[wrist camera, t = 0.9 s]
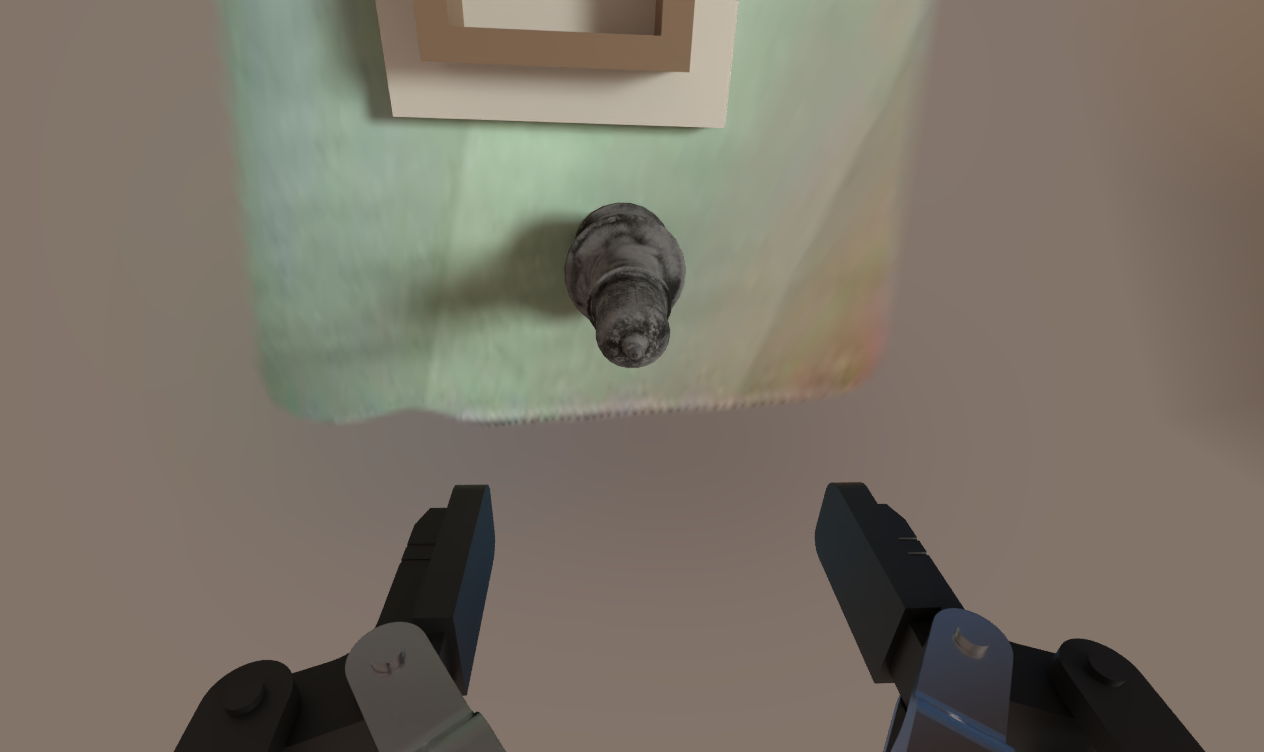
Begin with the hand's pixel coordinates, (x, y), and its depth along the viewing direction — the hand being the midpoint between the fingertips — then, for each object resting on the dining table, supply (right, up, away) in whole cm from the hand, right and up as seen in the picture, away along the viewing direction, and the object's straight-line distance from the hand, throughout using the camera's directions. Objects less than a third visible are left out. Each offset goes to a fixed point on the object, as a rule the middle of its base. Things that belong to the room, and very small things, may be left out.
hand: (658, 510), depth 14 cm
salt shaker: (-1, +10, +17) cm, 20 cm away
